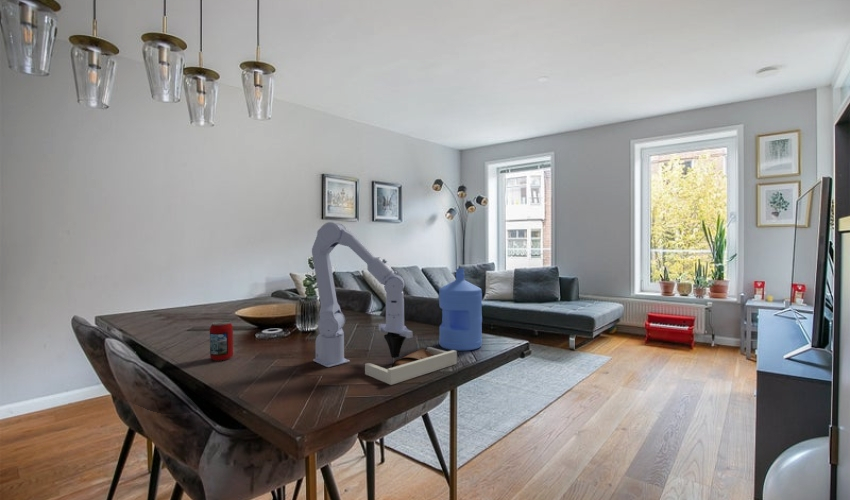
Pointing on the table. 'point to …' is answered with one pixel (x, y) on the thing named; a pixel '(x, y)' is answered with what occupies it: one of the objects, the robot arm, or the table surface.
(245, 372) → the table surface
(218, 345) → the beverage can
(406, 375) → the cream tray
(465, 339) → the water jug
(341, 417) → the table surface
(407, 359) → the sunglasses case
